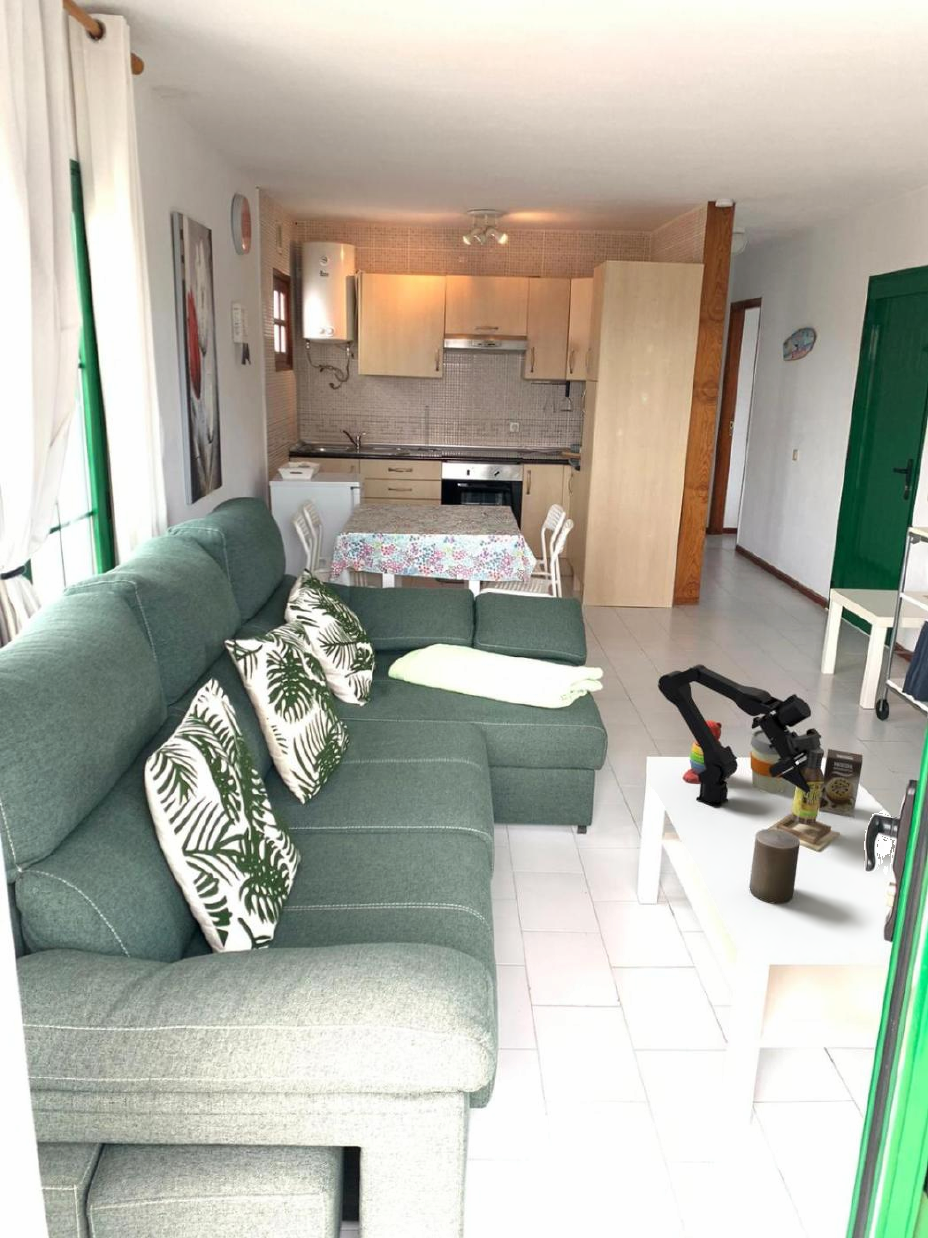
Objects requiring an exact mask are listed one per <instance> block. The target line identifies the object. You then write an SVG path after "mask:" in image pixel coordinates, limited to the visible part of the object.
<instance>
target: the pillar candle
mask: <svg viewBox="0 0 928 1238" xmlns="http://www.w3.org/2000/svg"><path fill="white" fill-rule="evenodd" d="M754 835H755V838H754V846H753V855H752V862H751V863H752V864H751V870H750V872H751V873H750V878H749V886H748V887H749V888H750V890H749V892H750V891H751V892H750V893H751V894H752V895H753V896H754V895H755V896H757V897H758V898H757V897H756V898H757V899H759V898H761V899H760V900H762V901H764V900H765V901H764V902H766V901H767V902H766V903H771V902H774V903H773V904H784V903H789V902H790V901H791V900H792V899H794V898H793V897H794V892H795V891H794V890H795V883H796V878H797V877H796V875H797V868H798V861H799V860H798V859H799V851H800V846H801V845H800V841H799V839H798V838H797V837H796V836H795V835H793V834H791V833H789V832H786V831H783V830H778V829H768V828H766V829H765V828H764V829H761V830H758V831H757V832H756V833H755V834H754ZM755 896H754V897H755Z"/></svg>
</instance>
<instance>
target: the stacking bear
mask: <svg viewBox="0 0 928 1238" xmlns="http://www.w3.org/2000/svg"><path fill="white" fill-rule="evenodd" d="M705 721H706V723H707V724H708V726H709V728H710V729H711V731H712V733H713V735H714V736H715V738H716V740H717V741H718V743H719V744H720V745H722V743H721V741H720V738H721V735H722V727H723V725H722V723H721V722H716V721H713V720H705ZM689 763H690V767H691V768H690V769H688V770H687V771H686V772H685V773H684V774H683V775H682V776H683V777H682V779H683V781H684V782H686V783H689V784H699V785H701V782H699V779H698V774H699V773H701V772H703V771H704V770H706V767H705V765H704V759H703V752H702V750H701V748H700V746H699V744H698V743H697V741H696V740H695V741H694V742H693V745H692V747H691V751H690V754H689Z"/></svg>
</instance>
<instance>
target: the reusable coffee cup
mask: <svg viewBox="0 0 928 1238" xmlns="http://www.w3.org/2000/svg"><path fill="white" fill-rule="evenodd" d="M772 739H773V738H772ZM750 745H751V751H750V753H749V754H750V755H749V756H750V769H751V770H752V771H751V775H752V776H751V777H752V778H751V781H752V783H751V784H752V786H753V788H755V789H757V788H758V789H757V790H759V791H761V790H762V792H764V791H765V793H770V794H771V793H773V794H774V793H775V794H776V793H782V792H784V791H785V790H786V785H787V782H788V781H787V780H785V779H783V778H782V777H781V778H780V777H779V776H780V775H781V774H782V773H781V774H779V775H777V776H775V777H774V778H772V776H771V775H770V773H769V767H770V766H772V765H773V764H775V763H777V762H778V759H780V756H779V755H778V753H777V752H776V750H775V749H774V748H772V749H770V747H769V745H771V743H770V740H768V738H767V737H766V735H765V734H764V732H763V731H762V729H758V730H756V731H754V732H753V733H752V736H751V740H750ZM784 789H785V790H784Z"/></svg>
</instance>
